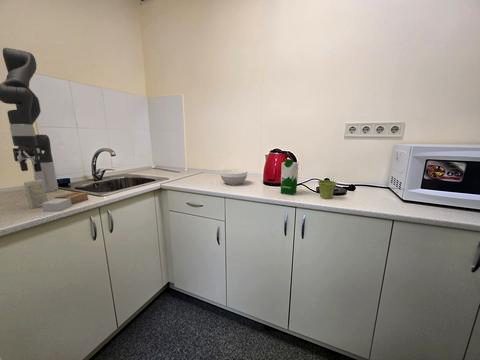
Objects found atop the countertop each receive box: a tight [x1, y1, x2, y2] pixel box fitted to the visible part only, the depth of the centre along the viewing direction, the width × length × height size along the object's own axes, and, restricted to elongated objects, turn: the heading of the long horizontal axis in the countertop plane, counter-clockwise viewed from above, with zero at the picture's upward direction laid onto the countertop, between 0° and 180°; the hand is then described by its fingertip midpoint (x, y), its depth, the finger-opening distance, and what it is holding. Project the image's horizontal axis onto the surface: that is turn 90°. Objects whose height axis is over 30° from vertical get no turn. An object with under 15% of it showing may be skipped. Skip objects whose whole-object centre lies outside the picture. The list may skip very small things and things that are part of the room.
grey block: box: [41, 198, 73, 212], centre depth 94 cm, size 7×7×4 cm
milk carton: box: [280, 158, 299, 196], centre depth 119 cm, size 9×9×20 cm
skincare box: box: [23, 179, 49, 209], centre depth 97 cm, size 6×4×12 cm
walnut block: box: [54, 191, 89, 206], centre depth 104 cm, size 9×9×4 cm
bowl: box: [219, 168, 248, 186], centre depth 144 cm, size 19×19×9 cm
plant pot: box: [317, 179, 338, 200], centre depth 112 cm, size 9×9×9 cm
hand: (31, 171), depth 95 cm, fingers open, 8 cm apart
